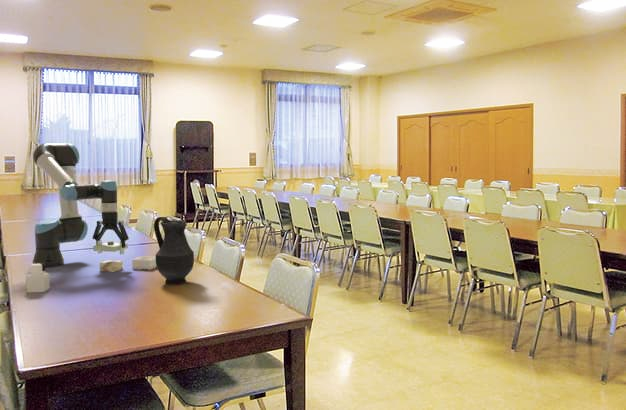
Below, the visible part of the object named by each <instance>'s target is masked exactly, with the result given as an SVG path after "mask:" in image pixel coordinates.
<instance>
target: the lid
mask: <svg viewBox="0 0 626 410" xmlns="http://www.w3.org/2000/svg"><path fill="white" fill-rule="evenodd" d="M128 248H129V243H128V242H125V247H124V250H126V249H128ZM92 251H93V252H98V251H102V252H109V253H110V252H112V253H115V252H120V242H114V240H113V241H109V240H108V241H107V242H104V243H103V242H102V244H99V245H96V244H95V245H92Z"/></svg>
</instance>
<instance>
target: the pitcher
mask: <svg viewBox="0 0 626 410" xmlns="http://www.w3.org/2000/svg"><path fill="white" fill-rule="evenodd" d="M160 225H161V227H162V230H163V233H164V234H163V235H164V237H163V236H162V233H161V229H160ZM187 225H188V223H187V220H180V219H179V220H176V219H175V220H171V219H169V218H167V217H166V216H158V217H156V219H155V220H154V223H153V230H154V234H155V237H156V241H157V244H158V247H159V249H158V251H157V252H156V253H155V257H156V266H157V268H156V269H157V271H158V272H159V274H160V275H161V276H162V277H163V278H165V282H164V284H166V285H169V284H170V285H173V286H174V285H175V286H176V285H183V284H186V283H187V279H186V277H187V276H188V275H189V274H190V273H191V272H192V270H193V267H194V265H195V252H194V250H193V249H192V248H191V247H190V245H189V243H188V242H189V241H188V240H187V236H186V234H185V230H186V227H187ZM170 285H169V286H170Z"/></svg>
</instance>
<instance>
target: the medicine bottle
mask: <svg viewBox="0 0 626 410" xmlns="http://www.w3.org/2000/svg"><path fill="white" fill-rule="evenodd" d="M25 281H26V293H31V294H32V293H45V292H46V291H48V290H50V289H51V286H50V284H51V283H50V282H51V281H50V272H46V267H45V264H44V263H33V262H32V263H31V264H30V265H29V274H28V275H26V277H25Z"/></svg>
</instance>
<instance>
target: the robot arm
mask: <svg viewBox="0 0 626 410" xmlns="http://www.w3.org/2000/svg"><path fill="white" fill-rule="evenodd" d="M32 160H33V163H34V164H35V166H37V167H38V168H39V169H40V170H43V172H45V173H46V175H48V176H49V178H50V179H51V180H52V181H53V182H54V183H55V184H56V185H57V186H58V187H57V188H58V196H59V205H60V212H61V215H60V217H59V218H58V219H46V220H41V221H39V222H37V223H36V224H35V225H34V239H35V240H34V241H35V242H34V243H35V251H34V252H35V253H34V255H33V258H32V259H33V260H32V264H33V263H44V264H45V268H49V267H50V268H51V267H52V268H53V267H56V266H61V265H64V264H65V259H64V257H63V254H62V251H61V247H60V246H61V245H60V244H65V243H67V244H68V243H76V242H81V241H83V240H84V239H86V236H87V234H88V230H89V228H88V223H87V222H86V220H85V219H83V216H82V215H81V214H80V213H79V207H78V201H82V200H96V199H97V200H98V199H99V200H101V220H97V221H96V225H95V229H94V231H93V235H92V240H95V245H99V244H103V240H102V237H103V236H104V234H105V233H106V232H107V230H111V231H114V233H115V234H116V236H117V237H118V238H119V243H120V250H119V255H124V254H125V249H124V247H125V243H126V241H128V240H129V239H130V238H129V236H128V232H127V231H126V229H125V226H124V224H125V223H124V221H123V220H121V221H119V220H118V218H119V216H118V213H119V212H118V187H117V181H116V180H101V181H100V183H91V184H89V183H88V184H78V182H76V181H75V180H76V179H75V175H74V173H75V172H74V171H75V169H76V168H77V165H78V163H80V153H79V150H78V148H77V146H75V144H72V143H67V142H64V143H63V142H62V143H60V142H59V143H57V142H56V143H55V142H54V143H52V142H51V143H50V142H46V143H41V144H39V145H37V147H35V149H34V151H33V154H32ZM102 253H103V251H97V254H102Z"/></svg>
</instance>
